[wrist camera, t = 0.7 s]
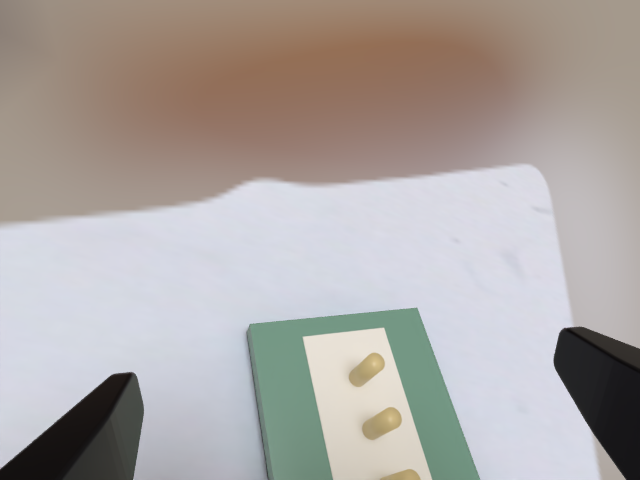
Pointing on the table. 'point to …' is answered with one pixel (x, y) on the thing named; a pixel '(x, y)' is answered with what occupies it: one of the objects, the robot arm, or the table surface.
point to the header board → (355, 400)
